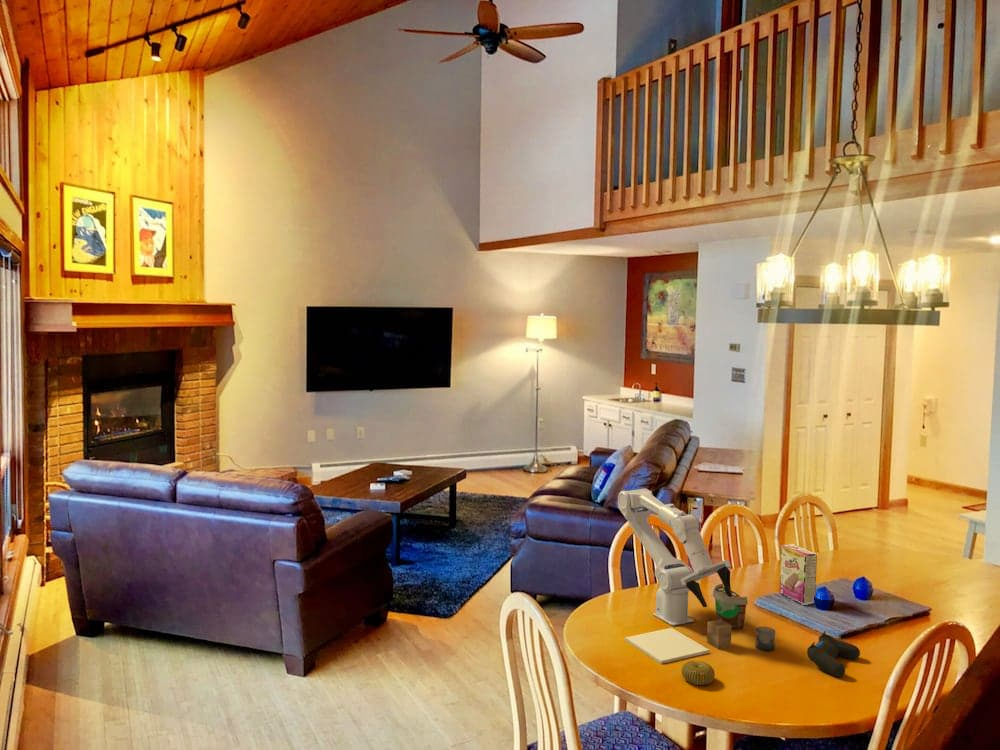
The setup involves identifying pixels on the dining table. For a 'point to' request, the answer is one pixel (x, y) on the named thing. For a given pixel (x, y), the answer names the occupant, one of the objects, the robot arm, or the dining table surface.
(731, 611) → the food container
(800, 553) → the candy bar box
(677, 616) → the robot arm
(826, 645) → the gaming controller
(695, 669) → the olive ribbed round piece
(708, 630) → the walnut block
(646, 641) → the cream mat
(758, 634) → the charcoal metal cylinder
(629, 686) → the dining table surface
